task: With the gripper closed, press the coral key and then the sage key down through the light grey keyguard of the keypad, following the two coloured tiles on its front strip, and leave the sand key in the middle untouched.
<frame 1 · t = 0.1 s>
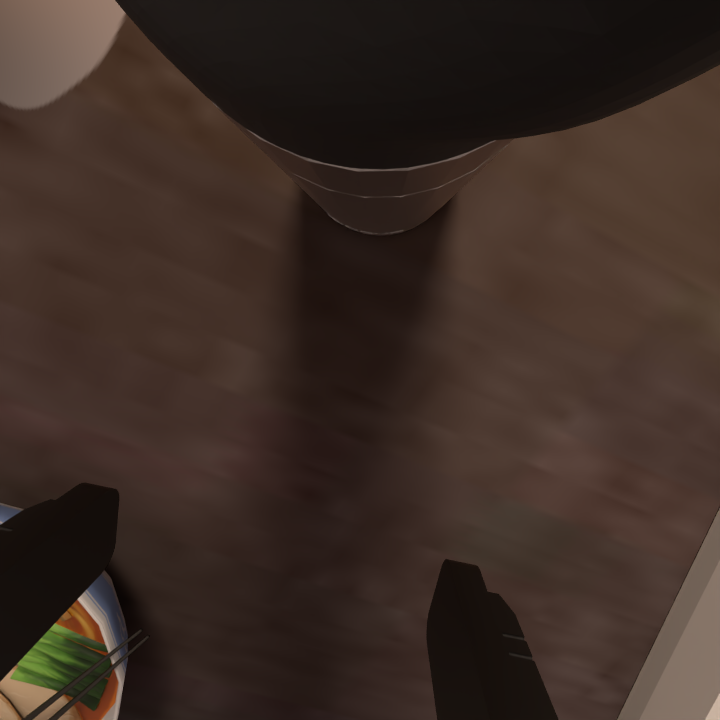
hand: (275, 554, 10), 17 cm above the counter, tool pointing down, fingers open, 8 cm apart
ramen bowl: (42, 573, 32), on the counter
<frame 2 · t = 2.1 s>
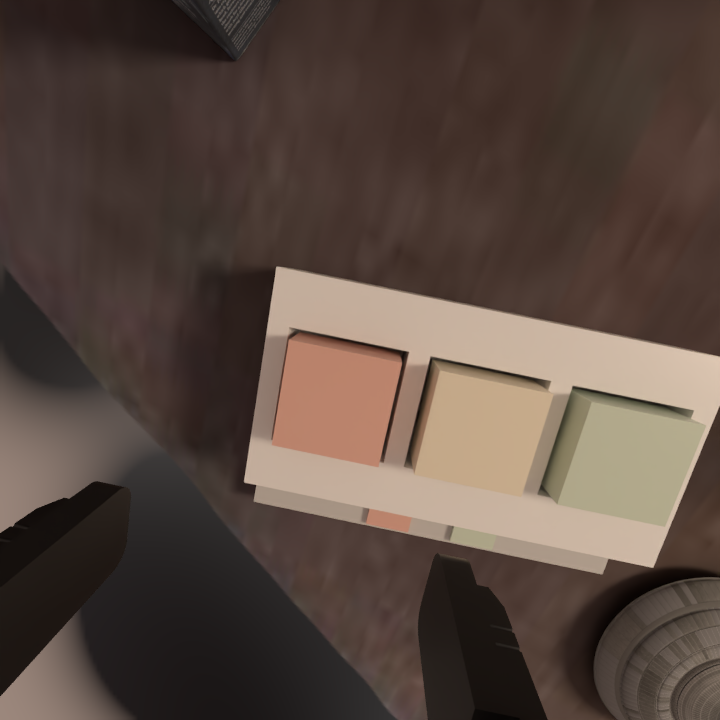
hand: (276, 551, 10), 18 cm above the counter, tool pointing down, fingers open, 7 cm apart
keypad: (458, 399, 28), on the counter
sage key: (613, 454, 23), point 5 cm above the counter, slide at 0.0 cm
flying saucer: (681, 644, 31), on the counter
sand key: (475, 425, 23), point 5 cm above the counter, slide at 0.0 cm
coral key: (337, 397, 23), point 5 cm above the counter, slide at 0.0 cm
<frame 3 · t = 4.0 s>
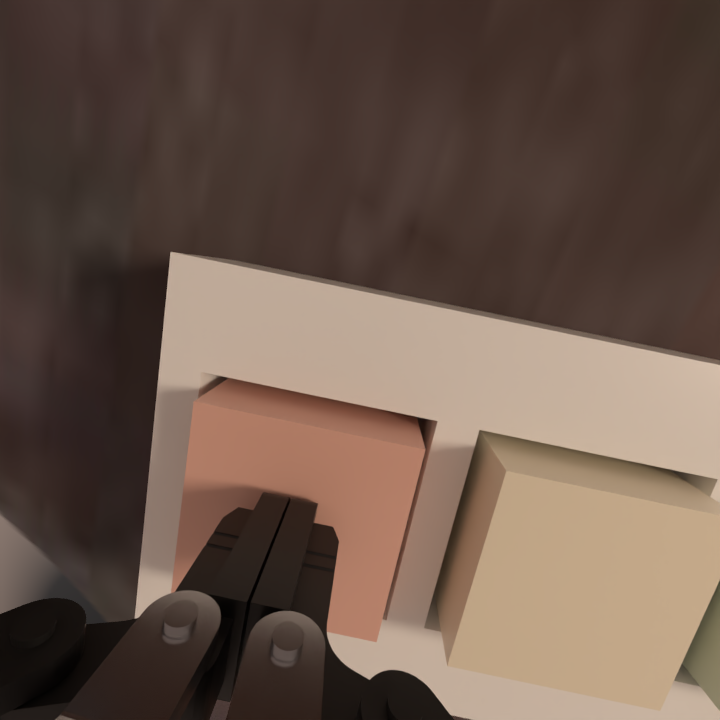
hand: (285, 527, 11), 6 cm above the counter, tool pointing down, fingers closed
keypad: (508, 476, 17), on the counter
sand key: (561, 558, 12), point 5 cm above the counter, slide at 0.0 cm
coral key: (301, 498, 12), point 5 cm above the counter, slide at 0.3 cm, touching gripper
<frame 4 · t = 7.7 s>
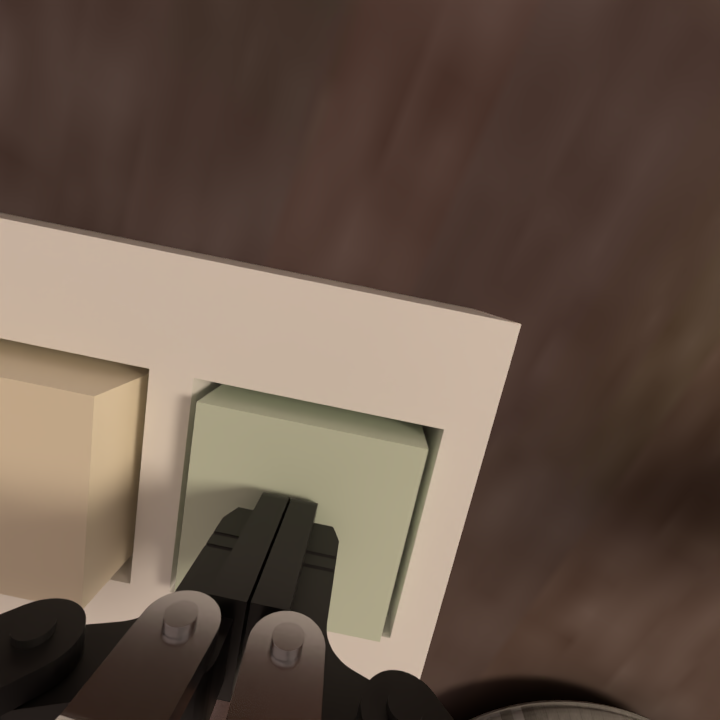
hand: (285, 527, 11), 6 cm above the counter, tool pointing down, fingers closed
keypad: (130, 404, 16), on the counter
sage key: (303, 498, 12), point 4 cm above the counter, slide at 0.9 cm, touching gripper
sand key: (22, 458, 11), point 5 cm above the counter, slide at 0.0 cm
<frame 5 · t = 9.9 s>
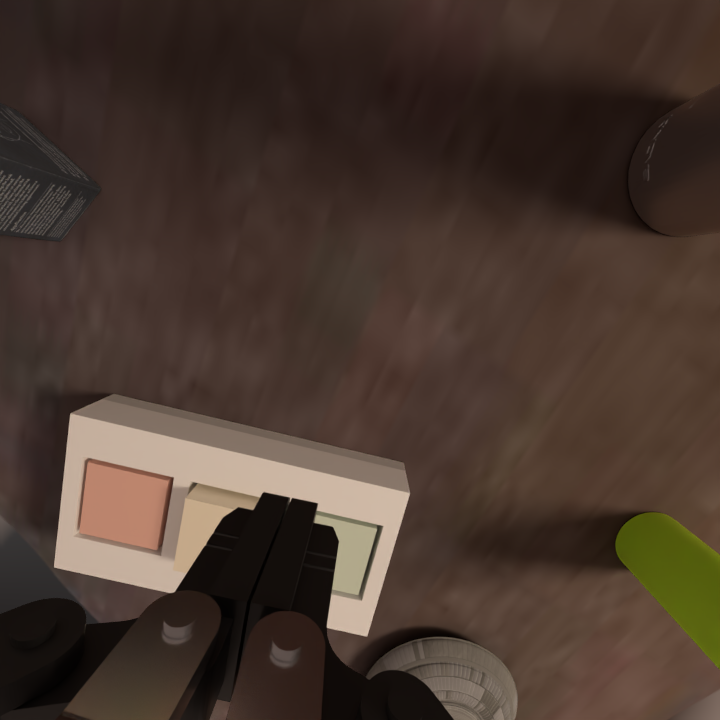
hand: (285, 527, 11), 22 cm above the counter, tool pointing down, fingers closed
keypad: (246, 496, 35), on the counter
sage key: (331, 541, 32), point 3 cm above the counter, slide at 1.6 cm
flying saucer: (435, 685, 39), on the counter
sand key: (227, 531, 30), point 5 cm above the counter, slide at 0.0 cm
coral key: (134, 496, 31), point 3 cm above the counter, slide at 1.5 cm
soap dispenser: (651, 536, 36), on the counter
box: (43, 180, 30), on the counter
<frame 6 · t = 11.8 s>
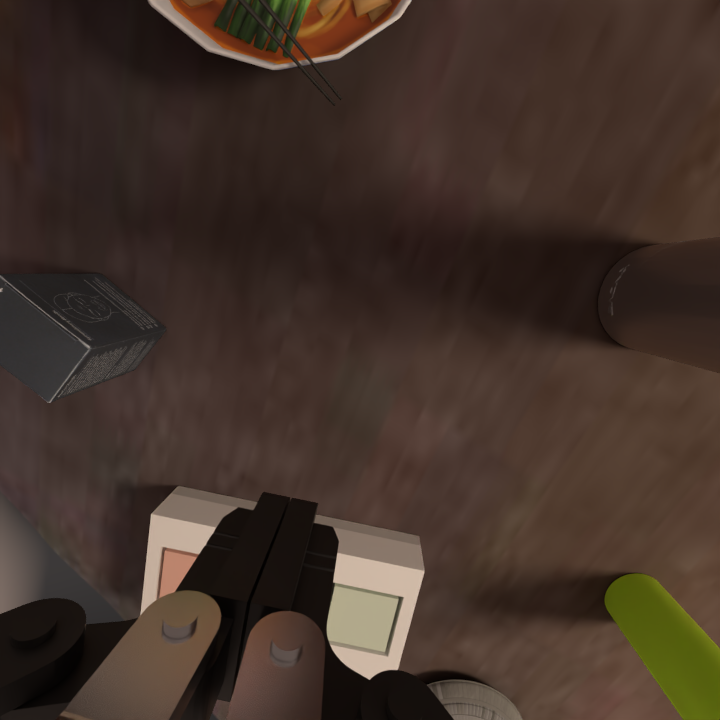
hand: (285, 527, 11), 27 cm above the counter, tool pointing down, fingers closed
keypad: (288, 564, 42), on the counter
sage key: (360, 606, 39), point 3 cm above the counter, slide at 1.6 cm
flying saucer: (453, 718, 46), on the counter
coral key: (200, 573, 39), point 3 cm above the counter, slide at 1.5 cm
soap dispenser: (636, 593, 41), on the counter
box: (120, 322, 38), on the counter
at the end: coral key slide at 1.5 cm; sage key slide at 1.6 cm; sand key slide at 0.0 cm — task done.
